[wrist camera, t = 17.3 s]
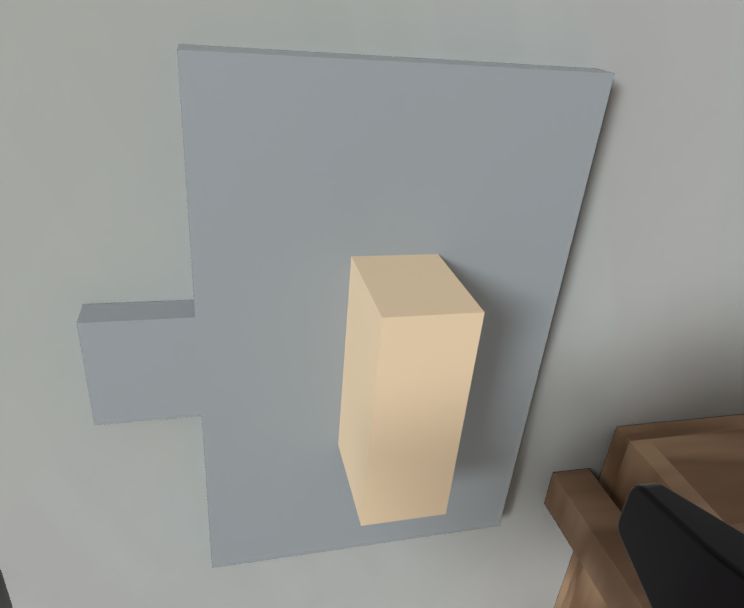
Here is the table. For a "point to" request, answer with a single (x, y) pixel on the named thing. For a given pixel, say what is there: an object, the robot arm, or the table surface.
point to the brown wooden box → (608, 495)
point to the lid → (356, 289)
